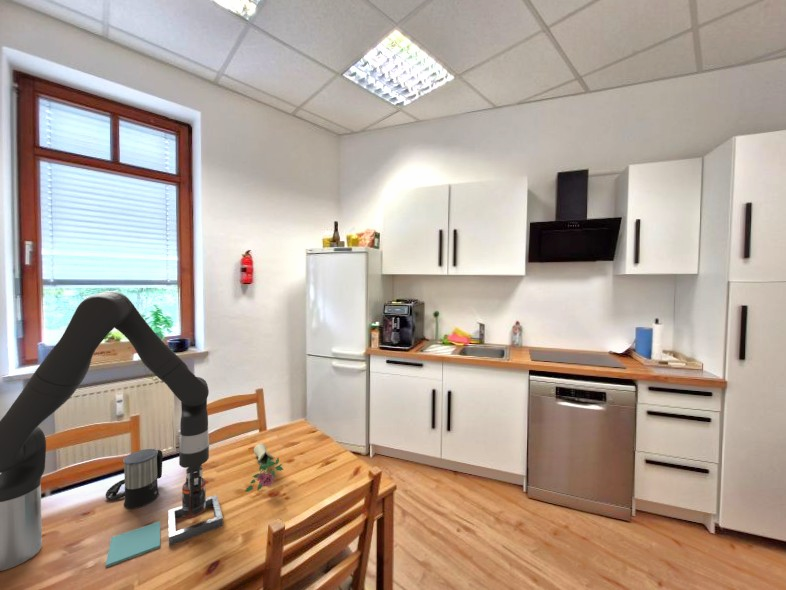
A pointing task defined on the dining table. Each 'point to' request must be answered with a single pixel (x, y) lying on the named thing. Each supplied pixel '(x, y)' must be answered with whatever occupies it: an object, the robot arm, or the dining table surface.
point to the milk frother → (139, 478)
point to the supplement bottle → (186, 500)
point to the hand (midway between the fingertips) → (194, 501)
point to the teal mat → (133, 543)
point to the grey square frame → (197, 528)
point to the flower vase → (264, 467)
